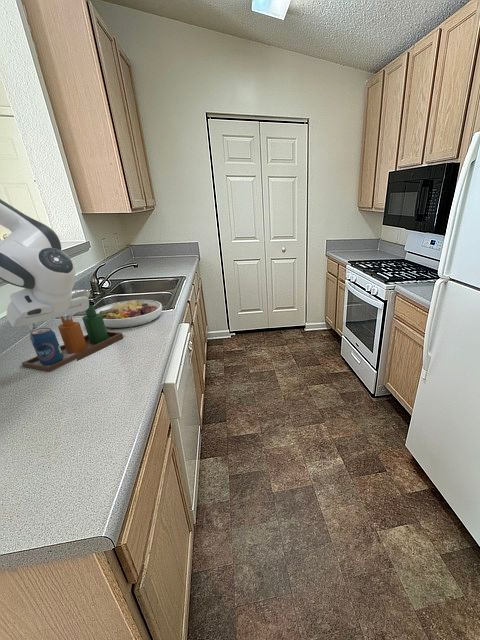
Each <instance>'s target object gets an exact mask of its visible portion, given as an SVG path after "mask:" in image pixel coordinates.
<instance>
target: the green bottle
mask: <svg viewBox="0 0 480 640" xmlns="http://www.w3.org/2000/svg"><path fill="white" fill-rule="evenodd" d="M95 310H96V308H95V306H94V304H89V308H88V309H87V310H86V311H84V312H85V314H86V315H83V316H82V318H81V319H82V322H83V325H84V329H85V331H86V335H88V337H89V340H90V343H91V344H98V343H100V342H102V341H104V340H106V339H109V337H108V334H107V331H108V330H107V327H105V324H104V320H103V317H102V314H98V313H97V314H96V311H95Z"/></svg>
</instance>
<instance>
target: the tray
mask: <svg viewBox="0 0 480 640" xmlns="http://www.w3.org/2000/svg"><path fill="white" fill-rule="evenodd" d="M107 334H108V337H109V339H106V340H104V341H102V342H100V343H98V344H91V343H90V340H89V337H88V334H85V335H84V338H85V341H86V344H87V347H88V348H87V349H85V350H83V351H81V352H79V353H76V354H71V355H70V356H68V357H66V358H63V360H61V361H59V362H57V363H55V364H53V365H43V364H38V362H40V361H39V359H38V356H37V355H36V356H34V357H32V358H29V359H27V360H24V361H22V362H21V365H22V367H24V368H29V369H33V370H34V369H35V370H39V371H45V372H52V371H54V370H56V369H59V368H60V367H62V366H64V365H66V364H68V363H70V362H71V363H72V361H75V360H76V362H78V361H80V360H82V359H84V358H86V357H89V356H91V355H92V354H95V353H97V352H98V351H101V350H103V349H105V348H107V347H109V346H111V345H113V344H115V343H118V342H119V341H121V340H124V336H123V332H116V331H110V330H107ZM59 346H60V348H61V351H62V352H63V351H64V350H66V348H65V345H64V344H62V345H59ZM36 362H37V363H36Z"/></svg>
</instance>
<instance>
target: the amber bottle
mask: <svg viewBox="0 0 480 640" xmlns="http://www.w3.org/2000/svg"><path fill="white" fill-rule="evenodd" d="M59 318H60V321H61V323H62V324H59V325H58V326H57V329H58V331H59V334H60V337H61V339H62V342H63V345H65V348H66V349H65V350H66V353H67V354H69V355H74V354H76V353H79V352H81V351H83V350H85V349H87V348H88V347H87V344H86V341H85V338H84V336H85V335H84V332H83V329H82V327H81V323H80V322H79V321H74V320H73V316H72V317H71V319H70V320H66V321H65V320H64V318H63V316H62V317H59Z"/></svg>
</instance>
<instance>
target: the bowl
mask: <svg viewBox="0 0 480 640" xmlns="http://www.w3.org/2000/svg"><path fill="white" fill-rule="evenodd" d="M95 311H96V314H97V313H98V314H102V317H103V320H104V324H105V327H106V328H110V329H111V328H112V329H113V328H114V329H121V328H122V329H123V328H130V327H131V328H132V327H137V326H141V325H144V324H147V323H150V322H152V321H154V320H156V319H157V318H159V317H160V316H161V314H162V312H163V305H162V303H161V302H159V301H156V300H151V299H132V300H124V301H119V302H114V303H110V304H106V305H103V306H101V307H98V308H97V309H96V308H95Z"/></svg>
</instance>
